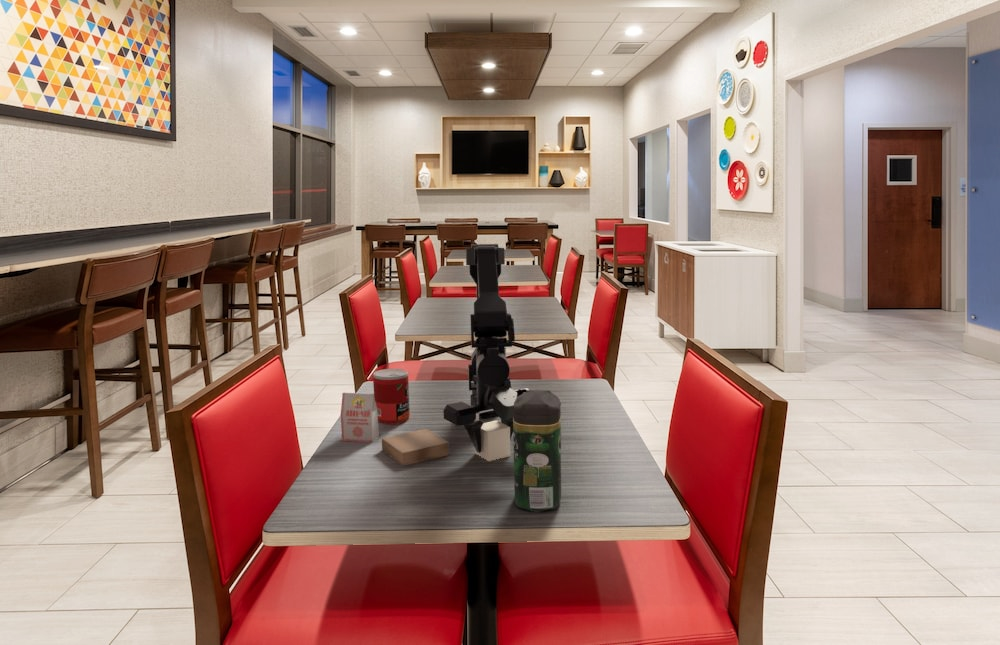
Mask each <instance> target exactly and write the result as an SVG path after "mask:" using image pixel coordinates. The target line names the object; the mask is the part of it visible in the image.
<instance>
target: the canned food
mask: <svg viewBox="0 0 1000 645" xmlns="http://www.w3.org/2000/svg"><path fill="white" fill-rule="evenodd" d="M372 374H373V376H372V380H373V381H372V382H373V384H372V385H373V394H374V398H375V402H376V406H377V411H378V423H380V424H385V425H398V424H402V423H405V422H407V421H408V420H409V418H410V415H411V414H410V389H409V388H410V387H409V386H410V385H409V371H407V370H405V369H401V368H385V369H380V370H376V371H374V372H373V373H372Z"/></svg>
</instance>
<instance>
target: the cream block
mask: <svg viewBox="0 0 1000 645" xmlns="http://www.w3.org/2000/svg"><path fill="white" fill-rule="evenodd" d="M474 450H475V455H476V456H478V455H479V457H480V456H481V457H480V458H482V459H483V458H484V459H483V460H485V459H486V460H485V461H487V462H492V460H493V461H497V460H500V458H501V459H503V458H509V457H511V440H510V427H509V426H507V425H505V424H503V423H501V421H498V420H492V421H488V422H487V421H486V422H483V425H482V427H481V452H480V453H478V452H477V451H476V449H474ZM496 459H497V460H496Z"/></svg>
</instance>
